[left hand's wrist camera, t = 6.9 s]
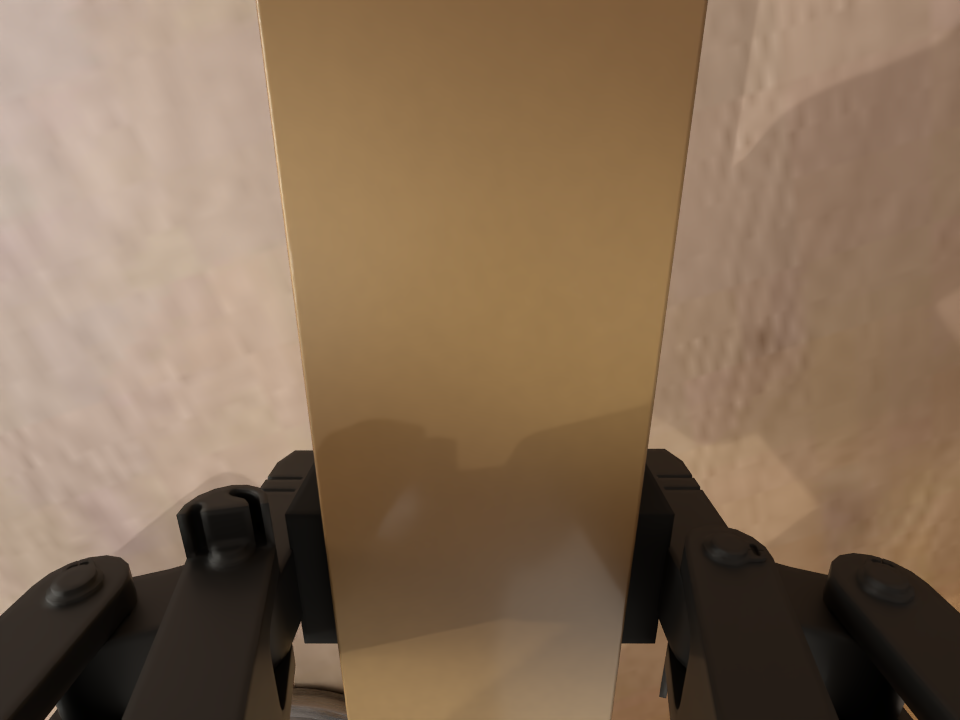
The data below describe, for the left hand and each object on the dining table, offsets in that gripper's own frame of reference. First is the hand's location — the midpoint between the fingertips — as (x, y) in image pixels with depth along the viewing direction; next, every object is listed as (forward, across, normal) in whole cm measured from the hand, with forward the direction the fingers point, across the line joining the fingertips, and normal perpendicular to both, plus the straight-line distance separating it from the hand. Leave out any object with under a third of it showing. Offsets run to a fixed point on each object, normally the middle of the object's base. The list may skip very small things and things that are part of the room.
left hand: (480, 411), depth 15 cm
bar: (0, 0, -32) cm, 32 cm away
